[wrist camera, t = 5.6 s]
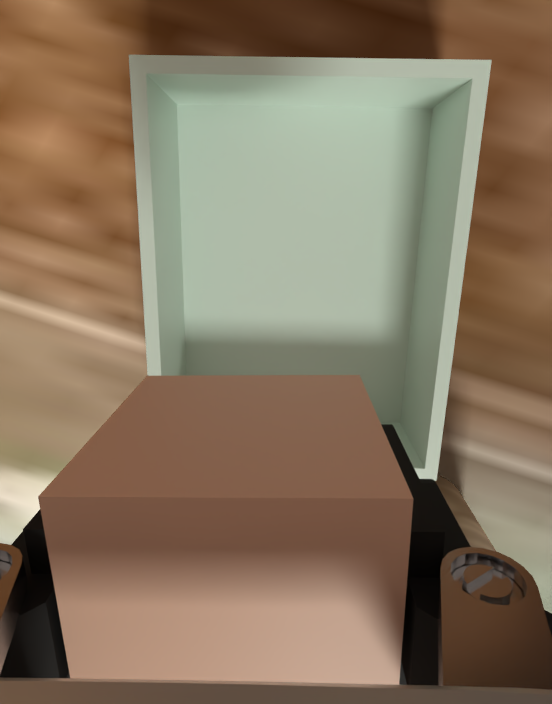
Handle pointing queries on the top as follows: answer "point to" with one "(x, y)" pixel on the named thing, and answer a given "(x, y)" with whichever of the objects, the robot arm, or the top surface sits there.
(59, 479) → the terracotta cube
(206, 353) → the sage tote
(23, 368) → the top surface
